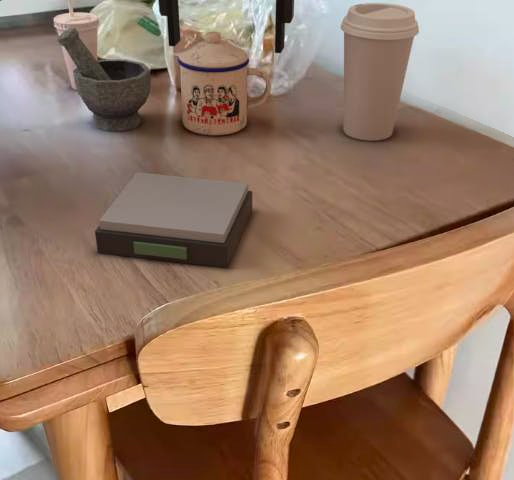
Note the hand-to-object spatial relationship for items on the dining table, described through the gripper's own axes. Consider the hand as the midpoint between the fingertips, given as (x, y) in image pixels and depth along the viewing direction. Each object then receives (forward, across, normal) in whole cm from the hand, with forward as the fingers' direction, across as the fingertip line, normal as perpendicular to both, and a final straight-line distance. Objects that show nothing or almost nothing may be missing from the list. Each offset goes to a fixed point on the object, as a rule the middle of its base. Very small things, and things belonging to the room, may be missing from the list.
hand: (226, 47), depth 92 cm
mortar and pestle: (+10, +15, +3) cm, 19 cm away
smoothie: (+10, +24, -10) cm, 28 cm away
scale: (+10, -2, +30) cm, 32 cm away
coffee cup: (+10, -19, -2) cm, 21 cm away
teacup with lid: (+10, 0, 0) cm, 10 cm away
